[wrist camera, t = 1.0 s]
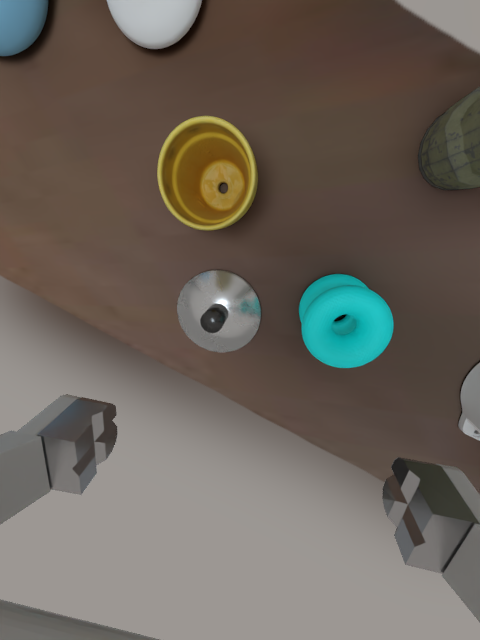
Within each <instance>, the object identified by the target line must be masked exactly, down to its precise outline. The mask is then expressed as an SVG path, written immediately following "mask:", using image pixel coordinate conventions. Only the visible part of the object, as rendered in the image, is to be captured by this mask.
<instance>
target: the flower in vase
mask: <svg viewBox="0 0 480 640" xmlns="http://www.w3.org/2000/svg"><path fill="white" fill-rule="evenodd" d="M107 3H108V6H109V9H110V12H111V14H112V17H113V19H114V20H115V22H116V24H117V26H118V27H119V28H120V30H121V31H122V32H123V33H124V35H125V36H126V37H127V38H129V39H130V40H131V41H132V42H134V43H136V44H137V45H139V46H142V47H144V48H148V49H162V48H165V47H168V46H171V45H173V44H174V43H176V42H177V41H179V40H180V39H181V38H182V37H183V36H184V35H185V34H186V33H187V32H188V31H189V29H190V28H191V26H192V25H193V23H194V21H195V19H196V17H197V15H198V12H199V9H200V7H201V3H202V0H107Z"/></svg>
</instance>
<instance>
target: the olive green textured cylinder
mask: <svg viewBox="0 0 480 640" xmlns="http://www.w3.org/2000/svg"><path fill="white" fill-rule="evenodd" d="M418 161H419V169H420V171H421V173H422V175H423V177H424V179H425V180H426V181H427V182H429V183H430V184H431V185H432V186H434V187H437V188H439V189H442V190H458V189H471V188H477V187H480V87H478V88H477V89H475V90H474V91H473V92H471V93H470V94H468V95H467V96H465V97H464V98H463V99H461V100H460V101H458V102H457V103H456V104H454V105H453V106H451V107H450V108H449V109H448V110H447V111H446V112H445V113H444V114H442V115H441V116H440V117H438V118H437V119H436V120H435V121H434V123H433V124H432V125H431V126H430V127H429V128H428V130H427V131H426V133H425V135H424V137H423V139H422V141H421V144H420V149H419V154H418Z"/></svg>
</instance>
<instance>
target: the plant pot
mask: <svg viewBox="0 0 480 640" xmlns="http://www.w3.org/2000/svg"><path fill="white" fill-rule="evenodd" d="M157 175H158V184H159V189H160V192H161V195H162V198H163V200H164V202H165V204H166V206H167V207H168V209H169V210H170V211H171V213H172V214H173V215H174V216H175V217H176V218H177V219H178V220H180V221H181V222H182V223H184V224H186V225H188V226H189V227H192V228H195V229H199V230H217V229H222V228H225V227H227V226H230V225H232V224H233V223H235V222H237V221H238V220H239V219H240V218H241V217H243V216H244V214H245V213H246V212H247V211H248V209H249V208H250V206H251V204H252V202H253V200H254V197H255V194H256V191H257V185H258V171H257V165H256V160H255V157H254V154H253V152H252V149H251V147H250V145H249V143H248V142H247V140H246V138H245V137H244V136H243V134H242V133H241V132H240V131H239V130H238V129H237V128H236V127H235V126H233V125H232V124H231V123H229V122H227V121H225V120H223V119H221V118H217V117H213V116H199V117H195V118H191V119H189V120H187V121H185V122H183V123H181V124H180V125H179V126H177V127H176V128H175V129H174V130H173V131H172V132H171V134H170V135H169V136H168V137H167V139H166V141H165V143H164V145H163V147H162V149H161V152H160V156H159V160H158V169H157ZM222 183H226V184H227V185H228V191H227V192H226V193H221V192H220V190H219V186H220V185H221V184H222Z"/></svg>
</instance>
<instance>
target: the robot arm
mask: <svg viewBox="0 0 480 640" xmlns="http://www.w3.org/2000/svg"><path fill="white" fill-rule="evenodd" d="M461 405H462V415H461V417H460V420H459V424H458V426H459V429H460V430H461V431H462V432H464V433H465V434H466V435H468V436H471V437H473V438H475V439H477V440H479V441H480V363H479V364H477V365H476V366H475V367H474V368H473V369H472V370H471V372H470V373H469V374H468V376H467V377H466V379H465V381H464V383H463V385H462V389H461ZM115 416H116V406H115V405H113V404H111V403H106V402H102V401H97V400H92V399H88V398H83V397H82V398H80V397H77V396H72V395H68V394H66V395H63V396H60V397H59V398H58V399H56V400H55V401H54V402H53V403H51V404H50V405H49V406H48V407H47V408H45V409H44V410H43V411H42V412H40V413H39V414H38V415H37V416H35V417H34V418H33V419H32V420H31V421H29V422H28V423H27V424H26V425H24V426H23V427H22V428H21V429H19V430H18V431H17V432H15V431H9V432H7V433H4V434H1V435H0V524H2V523H3V522H4V521H6V520H8V519H9V518H11V517H12V516H14V515H15V514H17V513H18V512H20V511H21V510H23V509H24V508H26V507H27V506H29V505H30V504H32V503H33V502H35V501H36V500H38V499H39V498H41V497H42V496H44V495H45V494H47V493H48V492H50V489H52V490H58V491H63V492H69V493H74V494H80V495H81V494H82V493H83V491H84V490H85V489H86V487H87V486H88V485H89V483H90V481H91V480H92V479H93V477H94V476H95V475H96V473H97V472H96V465H98V464H99V463H101V462H103V461H105V460H106V459H107V458H108V456H109V455H110V453H111V452H112V450H113V447H114V445H115V442H116V438H117V426H116V425H115V423H114V422H113V421H112V420H113V419H114V418H115ZM391 468H392V470H393V473H394V475H392V476H390V477H389V478H387V479H386V481H385V483H384V486H383V504H384V509H385V511H386V514H387V517H388V518H389V519H390V520H391V521H392V522H393V524H394V525H395V526H396V527H397V529H396V531H395V534H394V536H395V539H396V541H397V544H398V546H399V549H400V552H401V554H402V557H403V560H404V562H405V565H409V566H413V567H417V568H421V569H425V570H430V571H434V572H438V573H441V574H442V576H443V578H444V579H445V580H446V581H447V583H448V584H449V585H450V586H451V588H452V589H453V590H454V591H455V592H456V594H457V595H458V596H459V597H460V598H461V600H462V601H463V602H464V603H465V605H466V606H467V607H468V608H469V610H470V611H471V612H472V613H473V615H474V616H475V617H476V618H477V620H478V621H479V622H480V495H479V493H478V492H477V490H476V489H475V488H474V486H473V485H472V484H471V482H470V481H469V480H468V478H467V477H466V476H465V474H464V473H463V472H462V471H461V470H460V469H458V468H457V467H452V466H446V465H440V464H433V463H427V462H422V461H416V460H411V459H405V458H399V457H398V458H397V459H395V460H394V462H393V464H392V466H391ZM0 640H159V639H155V638H151V637H147V636H143V635H140V634H136V633H132V632H128V631H123V630H119V629H116V628H112V627H108V626H104V625H100V624H96V623H92V622H88V621H84V620H80V619H76V618H72V617H68V616H63V615H60V614H56V613H52V612H48V611H44V610H40V609H36V608H32V607H28V606H24V605H20V604H16V603H12V602H8V601H4V600H0Z"/></svg>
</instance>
